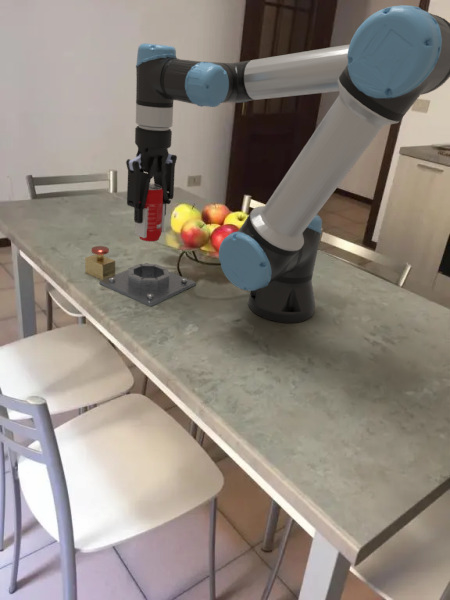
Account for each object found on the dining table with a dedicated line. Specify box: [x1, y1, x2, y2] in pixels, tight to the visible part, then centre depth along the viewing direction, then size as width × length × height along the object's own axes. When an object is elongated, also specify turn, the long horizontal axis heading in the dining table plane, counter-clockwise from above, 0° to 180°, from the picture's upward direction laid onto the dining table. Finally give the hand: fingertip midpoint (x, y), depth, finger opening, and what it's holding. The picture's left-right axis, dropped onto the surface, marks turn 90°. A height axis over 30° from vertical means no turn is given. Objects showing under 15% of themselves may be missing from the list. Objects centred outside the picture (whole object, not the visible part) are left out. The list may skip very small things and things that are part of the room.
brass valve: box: [84, 245, 116, 280], centre depth 125 cm, size 6×4×7 cm, turn 55°
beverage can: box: [138, 183, 163, 243], centre depth 116 cm, size 5×5×12 cm
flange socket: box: [99, 262, 196, 308], centre depth 123 cm, size 16×16×3 cm
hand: (149, 233), depth 118 cm, fingers closed on beverage can, 5 cm apart
